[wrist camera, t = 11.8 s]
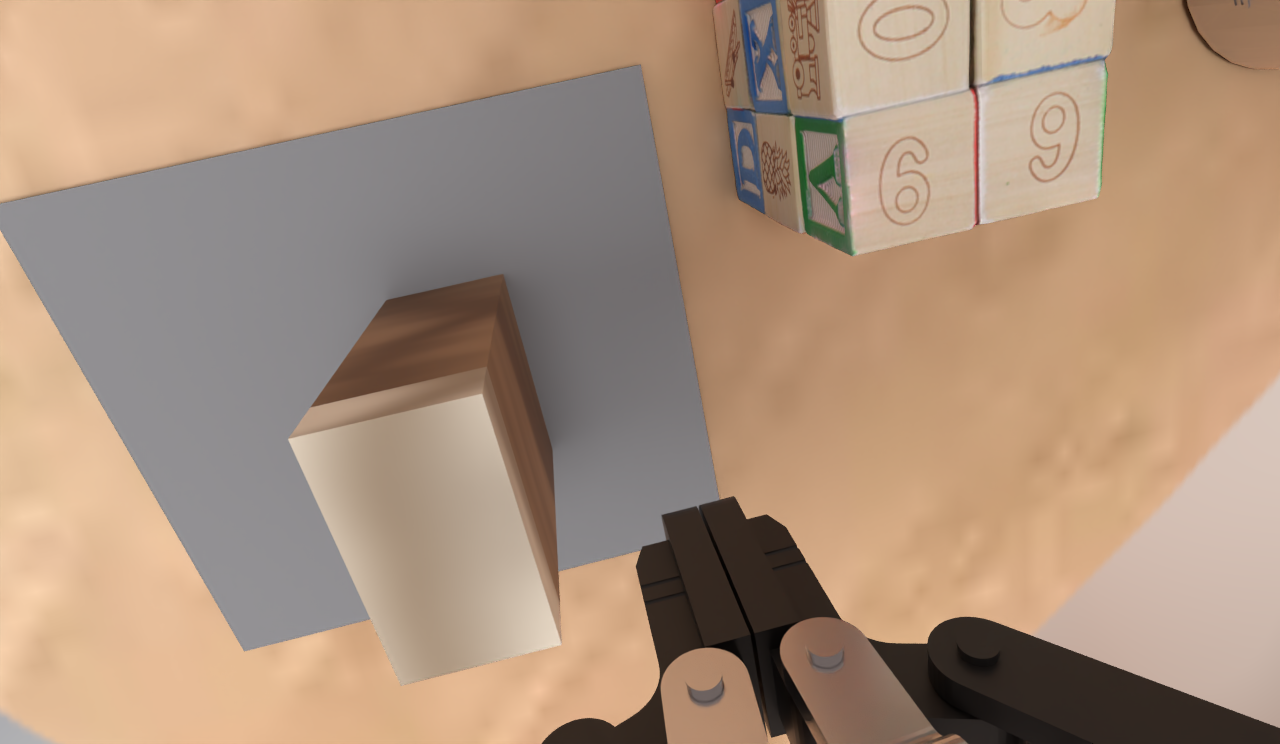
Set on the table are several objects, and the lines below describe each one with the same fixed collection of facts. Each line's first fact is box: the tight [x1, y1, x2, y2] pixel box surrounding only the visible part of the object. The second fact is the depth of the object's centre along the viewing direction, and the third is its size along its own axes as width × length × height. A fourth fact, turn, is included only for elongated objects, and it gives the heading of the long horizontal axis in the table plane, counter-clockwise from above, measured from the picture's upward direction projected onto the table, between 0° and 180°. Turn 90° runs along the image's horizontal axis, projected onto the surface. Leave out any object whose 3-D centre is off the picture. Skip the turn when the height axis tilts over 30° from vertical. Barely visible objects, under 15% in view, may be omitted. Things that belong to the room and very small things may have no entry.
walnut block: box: [288, 274, 562, 686], centre depth 20 cm, size 4×7×10 cm, turn 11°
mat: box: [0, 65, 719, 651], centre depth 25 cm, size 20×18×1 cm
